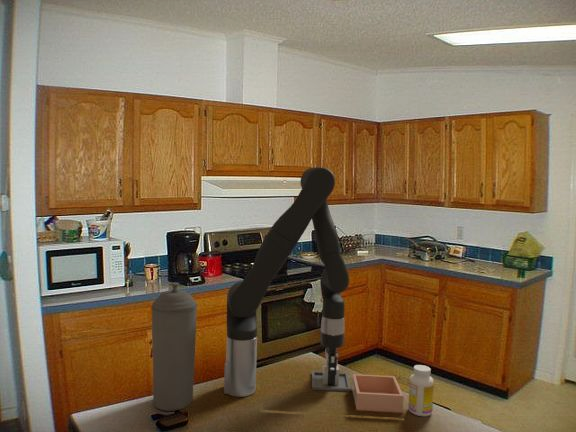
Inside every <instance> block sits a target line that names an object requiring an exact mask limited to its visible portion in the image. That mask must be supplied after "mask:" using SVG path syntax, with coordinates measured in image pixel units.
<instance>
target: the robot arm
mask: <svg viewBox="0 0 576 432" xmlns="http://www.w3.org/2000/svg"><path fill="white" fill-rule="evenodd" d="M335 177H336V176H335V174H334V173H333V172H332V170H330V169H329V168H326V167H323V166H322V167H320V166H319V167H318V166H317V167H316V166H315V167H309V168H307V169H306V170H304V171H303V173H302V174H301V177H300V183H299V184H300V187H301V190H300V192H299V193H298V195H297V197H296V198H295V199H294V201H293V203H292V204H291V205H290V207H288V208H287V209H286V210H285V211H284V212H283V213H282V214H281V215H280V216H279V217H278V218H277V220H275V222H274V223H273V225H272V226H271V227H270V229H269V231H268V232H267V234H266V235H265V237H264V239H263V240H262V241H261V244H260V247H259V249H258V250H257V251H258V252H257V254H256V256H255V259H254V262H253V264H252V266H251V268H250V270H249V272H248V273H247V274H246V275H245V277H244V279H243V280H242V281H237V282H235V283H234V284H233V285H231V286H230V288H228V291H227V297H226V355H225V357H226V358H225V362H224V379H223V387H224V388H223V394H227V395H229V396H231V397H239V398H240V397H241V398H243V397H248V396H252V394H254V393H255V392H256V387H257V383H256V382H257V355H258V354H257V353H258V349H257V348H258V347H257V346H258V322H257V310H258V309H259V307H260V305H261V303H262V301H263V299H264V296H265V295H266V293H267V291H268V289H269V286H270V285H271V283H272V282H273V280H274V278H275V277H276V276H277V274H278V273H279V272H280V270H281V269H282V268H283V266H284V264H285V263H286V261H287V260H288V258H289V257H290V256H291V254H292V252H293V251H294V250H295V248H296V246H297V245H298V242H299V240H300V239H301V237H302V236H303V234H304V233H305V230H307V228H308V226H309V224H310V222H311V220H312V225H313V230H314V235H315V241H316V247H317V251H318V257H319V260H320V261H321V262H322V264H323V265H324V269H323V271H322V272H321V275H320V280H319V281H320V292H321V299H322V312H321V316H322V317H321V323H320V344H321V346H323V347H325V351H324V354H325V360H326V362H325V363H326V366H327V367H328V371H327V373H328V386H334V385H335V375H336V374H337V372H336V367H337V365H338V358H339V351H338V350H339V349H338V348H342V347H343V346H344V345H345V328H346V327H345V325H346V324H345V323H346V322H345V313H346V311H345V310H346V309H345V307H346V306H345V304H346V303H345V300H344V299H343V298H342V295H341V294H342V293H344V292H345V291H346V290H347V289H348V287H349V284H350V275H349V272H348V269H347V265H346V263H345V260H344V258H343V256H342V250H341V243H340V239H339V235H338V231H337V228H336V225H335V223H334V219H333V218H332V216H331V211H330V208H329V203H328V197H329V196H330V195H331V194H332V192H333V191H334V188H335V185H336V182H335V181H336V178H335ZM330 368H334V371H333V370H330Z"/></svg>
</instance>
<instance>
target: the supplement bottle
mask: <svg viewBox="0 0 576 432" xmlns="http://www.w3.org/2000/svg"><path fill="white" fill-rule="evenodd" d="M431 371H432V369H431V368H430V367H429V366H428V365H423V364H415V365H414V366H413V374H411V375H410V377H409V386H408V387H409V388H408V410H409V412H410V413H412V414H413V415H415V416H417V417H418V416H419V417H429V416H431V415H432V414H433V406H434V405H433V404H434V386H435V385H434V383H435V382H434V378H433V377H432V376H431V373H432V372H431Z"/></svg>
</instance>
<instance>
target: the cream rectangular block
mask: <svg viewBox="0 0 576 432" xmlns="http://www.w3.org/2000/svg"><path fill="white" fill-rule="evenodd" d="M330 370H333V371H334V368H330ZM327 371H328V367H327V366H326V364H325V363H324V364H322V372H323V384H326V385H328V373H327ZM336 372H337V374H336V375H335V385H339V372H340V365H339V364H337V367H336Z"/></svg>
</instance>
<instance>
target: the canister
mask: <svg viewBox="0 0 576 432" xmlns="http://www.w3.org/2000/svg"><path fill="white" fill-rule="evenodd" d="M169 286H171V287H172V289H171V290H166V291H163V292H162V293H160V294H159V295H158V297H157V298H156V299H155V301H153V302H152V305H151V307H150V308H151V323H152V324H151V329H152V330H151V331H152V332H151V333H152V334H151V335H152V336H151V338H152V339H151V341H152V389H153V391H152V397H153V398H152V400H153V405H154V406H155V408H157V409H159V410H160V411H166V412H168V411H169V412H175V411H180V410H182V409H185V408H188V407H189V406H190V405H191V404H192V402H193V398H194V397H193V396H194V379H195V361H196V360H195V357H196V336H197V335H196V334H197V311H198V304H197V301H196V300H195V299H194V297H192V296H191V294H190V293H189V292H187V291H185V290H181V289H178V286H180V282H176V281H175V282H170V285H169Z"/></svg>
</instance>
